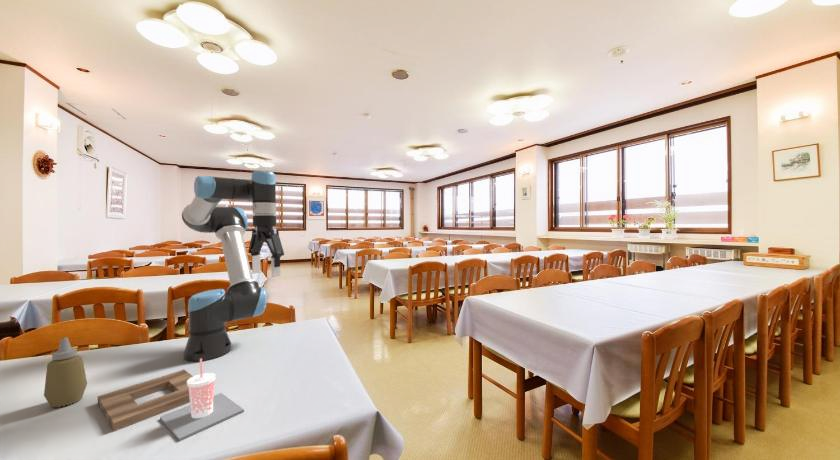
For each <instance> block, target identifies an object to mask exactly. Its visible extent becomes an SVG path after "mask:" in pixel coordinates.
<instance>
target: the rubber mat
mask: <svg viewBox="0 0 840 460" xmlns="http://www.w3.org/2000/svg"><path fill="white" fill-rule="evenodd" d="M244 412H245V409H244V408H242V407H241V406H240V405H239V404H237V403H236V402H234V401H233V400H231V399H230V398H229V397H227V395H225V394H223V393H221V392H220V393H217V394H214V398H213V412H212V413H211V414H209V415H207V416H205V417H202V418H192V417H191V407H190V404H189V405H186V406H184V407H181V408H178V409H175V410H173V411H171V412H169V413H167V414H164V415H162V416H159V420H160V421H161V422H162V424H164V426H165V427H166V428H167V429H168V430H169V432H171V434H172V435H174V437H175V438H176V439H177V441H179V442H181V441H184V440H186V439H188V438H190V437H192V436H194V435H197V434H200V433H201V432H203V431H205V430H207V429H209V428H212V427H213V426H215V425H218V424H220V423H223V422H224V421H227V420H229V419H231V418H233V417H235V416H238V415H240V414H242V413H244Z"/></svg>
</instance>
